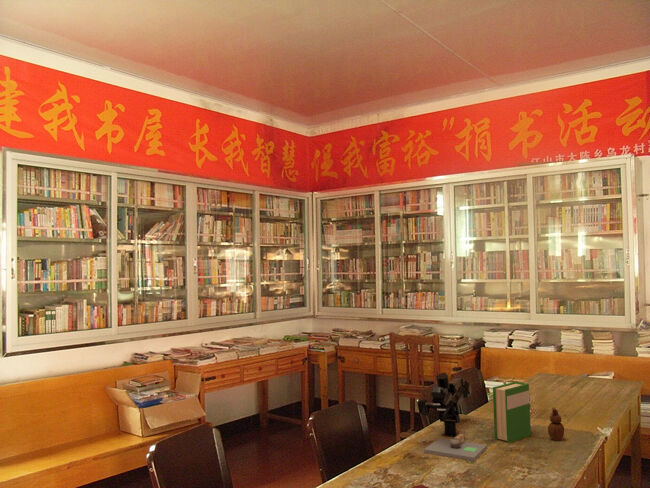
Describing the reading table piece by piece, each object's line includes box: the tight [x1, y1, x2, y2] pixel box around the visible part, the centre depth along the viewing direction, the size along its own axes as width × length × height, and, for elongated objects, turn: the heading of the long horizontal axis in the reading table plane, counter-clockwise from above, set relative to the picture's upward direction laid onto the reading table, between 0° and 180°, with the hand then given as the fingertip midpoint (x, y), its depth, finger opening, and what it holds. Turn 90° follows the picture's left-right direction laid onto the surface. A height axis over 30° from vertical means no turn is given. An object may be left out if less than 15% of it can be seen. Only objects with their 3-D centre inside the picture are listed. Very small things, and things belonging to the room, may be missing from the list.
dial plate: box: [423, 437, 488, 462], centre depth 244 cm, size 18×22×2 cm
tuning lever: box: [449, 430, 466, 448], centre depth 248 cm, size 12×4×4 cm, turn 148°
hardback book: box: [492, 381, 532, 444], centre depth 261 cm, size 18×7×24 cm, turn 128°
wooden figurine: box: [547, 406, 565, 441], centre depth 256 cm, size 7×6×15 cm
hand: (433, 417), depth 246 cm, fingers open, 9 cm apart
